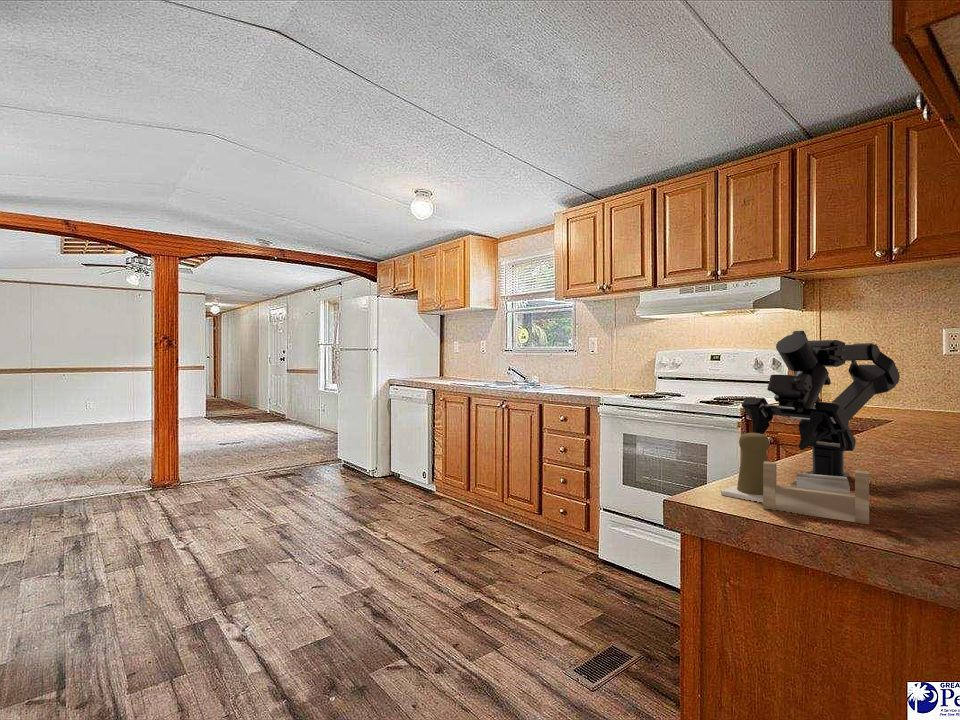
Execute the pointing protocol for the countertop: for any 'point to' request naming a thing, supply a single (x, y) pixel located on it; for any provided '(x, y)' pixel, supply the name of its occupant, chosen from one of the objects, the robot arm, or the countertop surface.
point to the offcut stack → (822, 483)
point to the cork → (752, 462)
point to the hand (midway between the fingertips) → (776, 445)
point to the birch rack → (817, 498)
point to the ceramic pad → (741, 494)
